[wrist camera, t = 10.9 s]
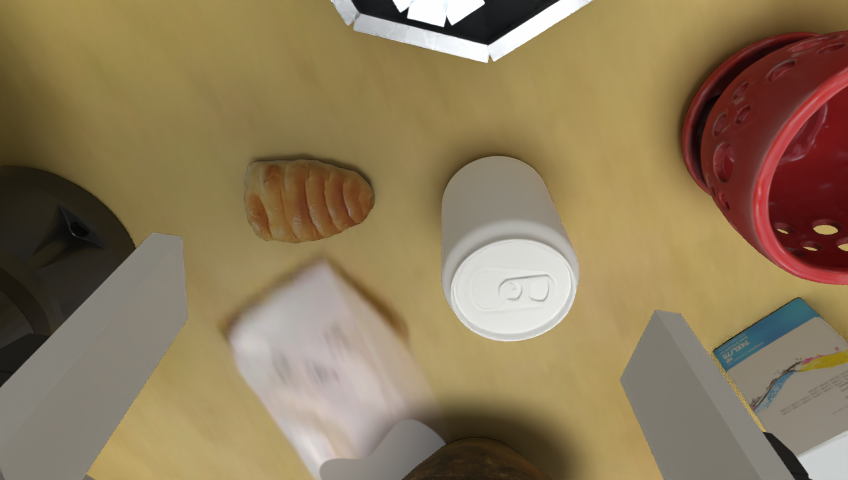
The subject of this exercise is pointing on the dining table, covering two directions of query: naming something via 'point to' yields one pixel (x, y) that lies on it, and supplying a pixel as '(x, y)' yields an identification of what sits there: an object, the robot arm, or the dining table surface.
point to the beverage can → (505, 251)
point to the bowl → (476, 463)
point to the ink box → (796, 385)
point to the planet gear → (438, 9)
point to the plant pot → (778, 149)
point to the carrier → (461, 25)
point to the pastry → (304, 199)
